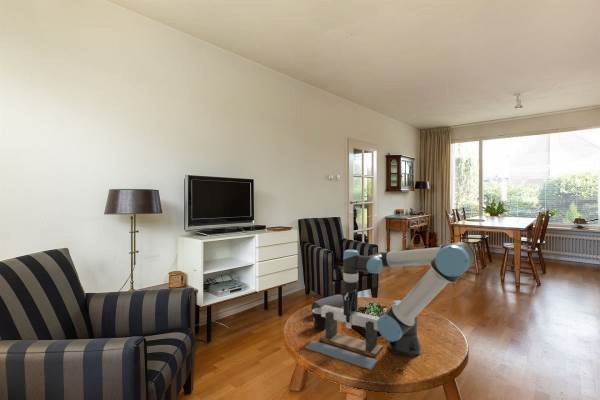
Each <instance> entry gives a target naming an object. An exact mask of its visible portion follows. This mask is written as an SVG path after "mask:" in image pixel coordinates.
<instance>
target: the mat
mask: <svg viewBox="0 0 600 400" xmlns="http://www.w3.org/2000/svg"><path fill="white" fill-rule="evenodd" d="M304 348H305V349H306V350H310V351H312V352H314V353H315V352H316V353H319V354H322V355H325V356H328V357H331V358H333V359H337V360H341V361H343V362H345V363H348V364H352V365H355V366H358V367H360V368H361V367H362V368H364V369H368V370H370V371H371V370H372V369H373V368H374V366H376V364H377V363H378V359H374V358H371V357H368V356H365V355H362V354H358V353H355V352H352V351H349V350H347V349H346V350H345V349H342V348H339V347H335V346H334V345H333V346H332V345H331V344H330V345H329V344H326V343H323V342H321V341H320V342H319V341H315V340H313V341H311V342H310V343H309V344H307V345H306V346H305V347H304Z"/></svg>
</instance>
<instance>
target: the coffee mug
mask: <svg viewBox="0 0 600 400" xmlns="http://www.w3.org/2000/svg"><path fill="white" fill-rule="evenodd" d="M311 312H312V320H313V328H314V330H315V331H319V332H323V331H326V317H322V316H321V308H316V309H313V310H312V309H311Z"/></svg>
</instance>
